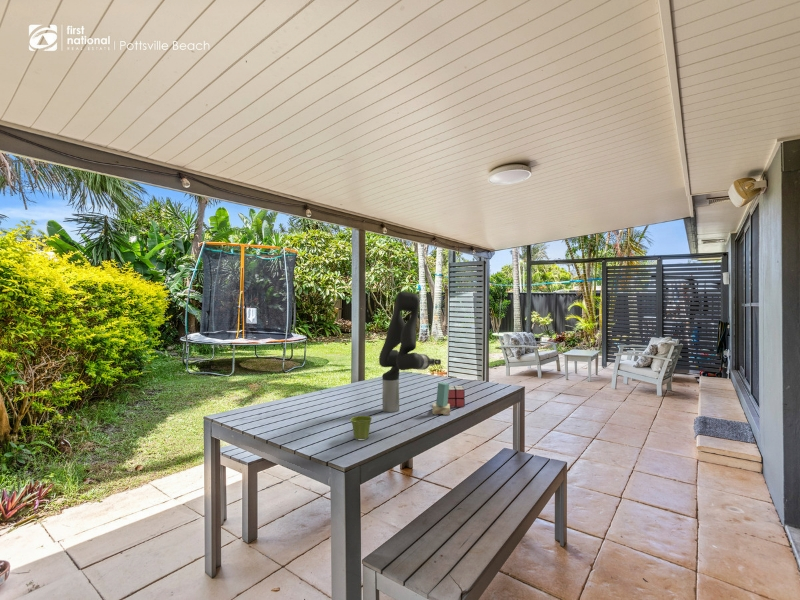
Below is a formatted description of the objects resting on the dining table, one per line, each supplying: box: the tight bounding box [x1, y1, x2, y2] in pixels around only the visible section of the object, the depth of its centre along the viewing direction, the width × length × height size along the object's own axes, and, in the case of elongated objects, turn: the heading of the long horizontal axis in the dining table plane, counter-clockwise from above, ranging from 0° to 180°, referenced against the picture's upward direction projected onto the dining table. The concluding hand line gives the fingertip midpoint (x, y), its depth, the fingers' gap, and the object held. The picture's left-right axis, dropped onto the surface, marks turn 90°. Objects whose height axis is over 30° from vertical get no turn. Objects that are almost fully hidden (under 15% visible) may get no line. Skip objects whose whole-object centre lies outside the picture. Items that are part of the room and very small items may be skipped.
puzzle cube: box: [448, 385, 466, 408], centre depth 231 cm, size 10×10×10 cm
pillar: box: [435, 381, 450, 407], centre depth 215 cm, size 4×4×12 cm
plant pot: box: [350, 415, 373, 440], centre depth 177 cm, size 9×9×9 cm
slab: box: [432, 402, 451, 416], centre depth 216 cm, size 9×9×4 cm
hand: (430, 362), depth 208 cm, fingers open, 8 cm apart
